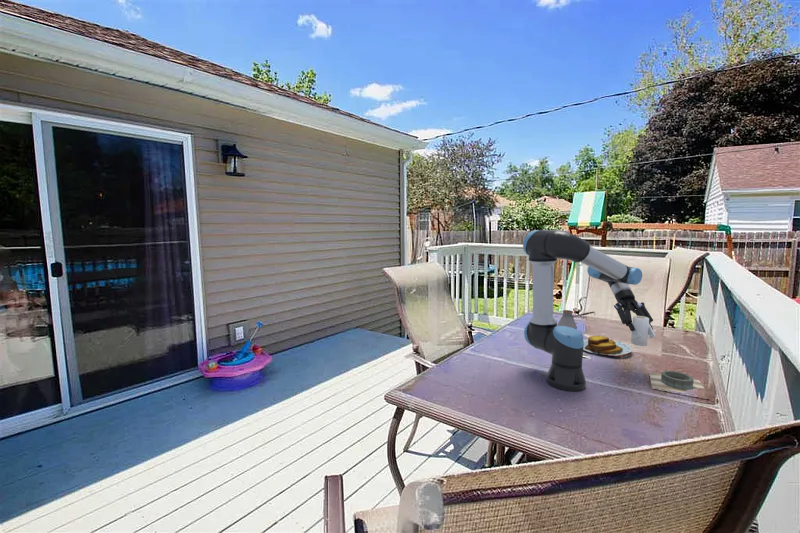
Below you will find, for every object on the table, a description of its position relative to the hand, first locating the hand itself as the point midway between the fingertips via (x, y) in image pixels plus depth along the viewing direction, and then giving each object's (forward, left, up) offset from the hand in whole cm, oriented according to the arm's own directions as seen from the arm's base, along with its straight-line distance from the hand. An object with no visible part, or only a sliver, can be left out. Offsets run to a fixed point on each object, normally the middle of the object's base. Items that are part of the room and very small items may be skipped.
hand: (645, 337), depth 158 cm
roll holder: (-3, -12, -18) cm, 22 cm away
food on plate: (+32, +16, -19) cm, 40 cm away
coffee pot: (+59, +32, -19) cm, 70 cm away
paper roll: (+3, +2, -4) cm, 6 cm away
